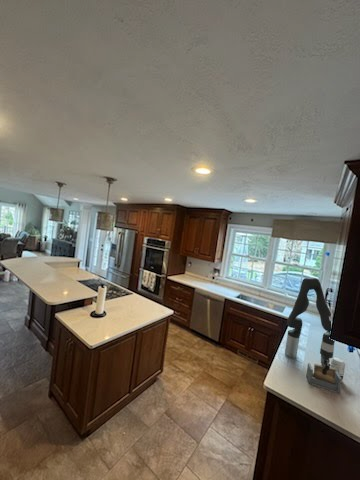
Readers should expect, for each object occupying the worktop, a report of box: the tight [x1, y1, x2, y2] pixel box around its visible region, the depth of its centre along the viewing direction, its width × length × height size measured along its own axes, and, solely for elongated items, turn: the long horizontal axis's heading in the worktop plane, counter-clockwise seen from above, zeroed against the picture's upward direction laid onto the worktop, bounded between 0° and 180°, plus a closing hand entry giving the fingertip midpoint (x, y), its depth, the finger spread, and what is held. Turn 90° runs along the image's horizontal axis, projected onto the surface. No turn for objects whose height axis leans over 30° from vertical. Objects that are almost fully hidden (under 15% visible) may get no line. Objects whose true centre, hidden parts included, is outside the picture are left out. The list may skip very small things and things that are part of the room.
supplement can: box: [330, 356, 346, 383], centre depth 156 cm, size 8×8×15 cm
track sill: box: [305, 362, 342, 394], centre depth 148 cm, size 9×18×10 cm, turn 69°
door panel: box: [313, 363, 336, 383], centre depth 148 cm, size 3×12×9 cm, turn 68°
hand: (323, 372), depth 148 cm, fingers closed on door panel, 2 cm apart
